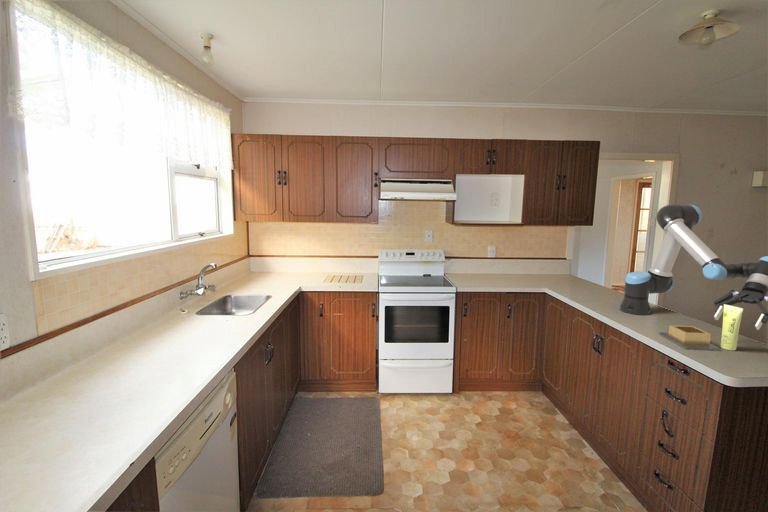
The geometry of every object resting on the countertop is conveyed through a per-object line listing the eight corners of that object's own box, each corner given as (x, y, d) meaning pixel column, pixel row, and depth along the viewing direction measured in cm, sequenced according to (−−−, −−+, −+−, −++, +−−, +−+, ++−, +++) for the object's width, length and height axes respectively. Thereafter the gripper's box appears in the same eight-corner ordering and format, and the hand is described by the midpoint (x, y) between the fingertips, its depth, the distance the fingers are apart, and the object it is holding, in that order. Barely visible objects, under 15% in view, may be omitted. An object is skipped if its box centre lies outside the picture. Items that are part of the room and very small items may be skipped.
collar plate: (658, 334, 171) (660, 322, 170) (690, 335, 169) (691, 323, 168) (685, 349, 153) (687, 336, 152) (720, 350, 151) (722, 337, 151)
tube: (718, 348, 154) (724, 306, 151) (717, 345, 157) (723, 303, 155) (736, 352, 150) (743, 308, 147) (735, 348, 154) (741, 305, 151)
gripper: (800, 297, 145) (778, 337, 141) (723, 285, 168) (702, 319, 164) (796, 286, 142) (774, 326, 139) (719, 275, 165) (697, 310, 161)
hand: (735, 323), depth 151 cm, fingers open, 13 cm apart
